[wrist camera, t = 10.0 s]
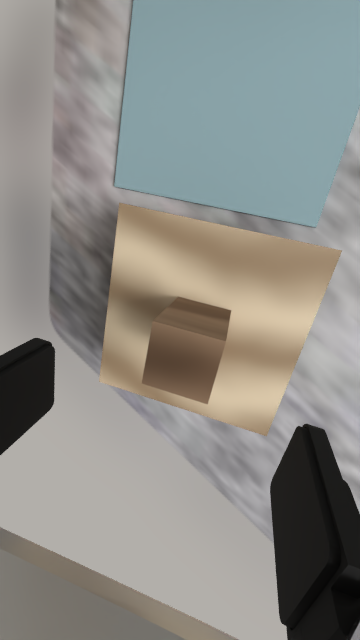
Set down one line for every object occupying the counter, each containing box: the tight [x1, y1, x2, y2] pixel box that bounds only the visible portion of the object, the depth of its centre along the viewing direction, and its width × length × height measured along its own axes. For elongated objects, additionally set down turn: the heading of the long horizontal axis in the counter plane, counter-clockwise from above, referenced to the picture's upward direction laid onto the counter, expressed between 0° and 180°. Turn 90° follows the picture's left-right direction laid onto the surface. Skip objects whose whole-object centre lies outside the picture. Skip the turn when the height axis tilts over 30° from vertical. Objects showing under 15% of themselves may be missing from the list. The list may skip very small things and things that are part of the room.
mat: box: [114, 0, 360, 227], centre depth 20 cm, size 18×18×1 cm
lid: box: [99, 203, 342, 436], centre depth 18 cm, size 15×15×7 cm
